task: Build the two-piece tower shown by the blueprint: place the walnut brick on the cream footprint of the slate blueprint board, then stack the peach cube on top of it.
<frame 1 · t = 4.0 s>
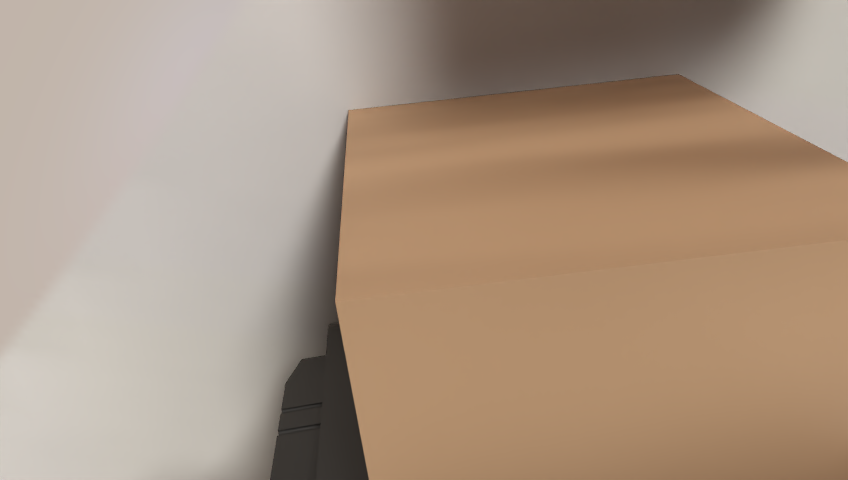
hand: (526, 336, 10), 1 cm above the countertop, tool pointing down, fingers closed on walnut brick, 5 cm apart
walnut brick: (517, 309, 11), on the countertop, touching gripper
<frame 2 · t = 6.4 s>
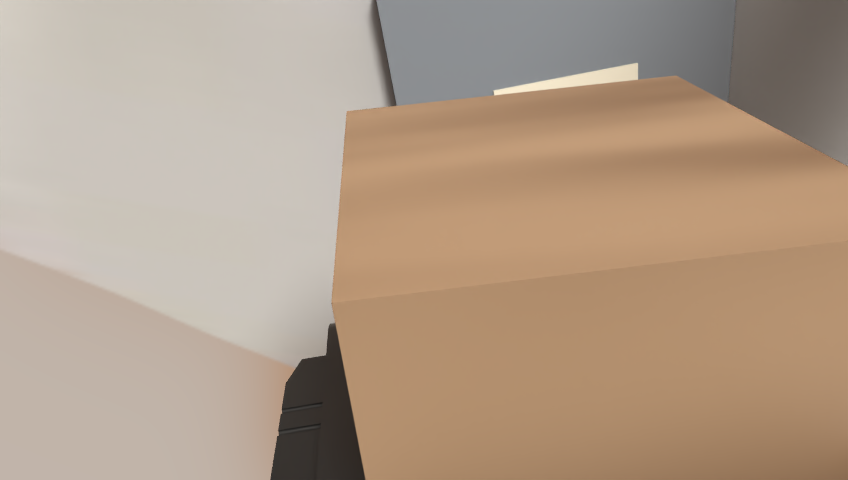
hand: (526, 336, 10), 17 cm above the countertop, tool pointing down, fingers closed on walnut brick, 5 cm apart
walnut brick: (515, 310, 11), point 16 cm above the countertop, touching gripper
blueprint board: (563, 168, 28), on the countertop
when the fingers open (3 cm above the countertop, at t = 9.0 s): walnut brick drops 1 cm, resting on blueprint board.
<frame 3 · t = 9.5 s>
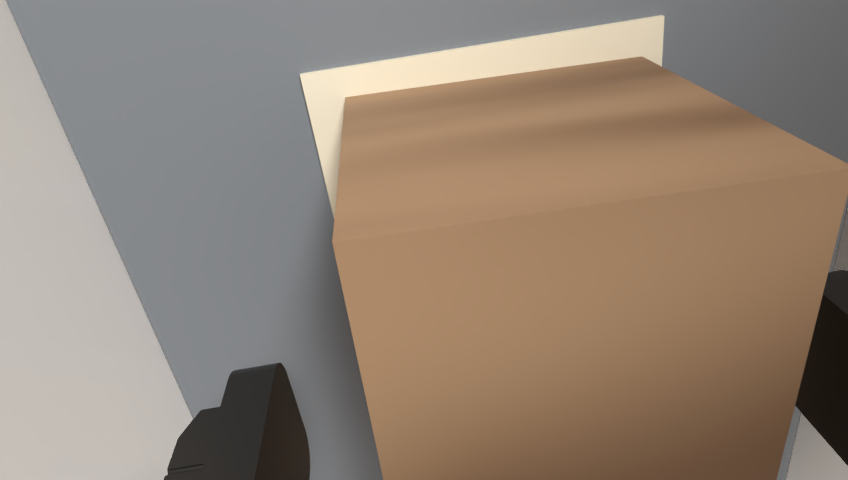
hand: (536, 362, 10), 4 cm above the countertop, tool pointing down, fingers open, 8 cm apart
walnut brick: (505, 277, 12), point 1 cm above the countertop, touching blueprint board
blueprint board: (492, 249, 13), on the countertop
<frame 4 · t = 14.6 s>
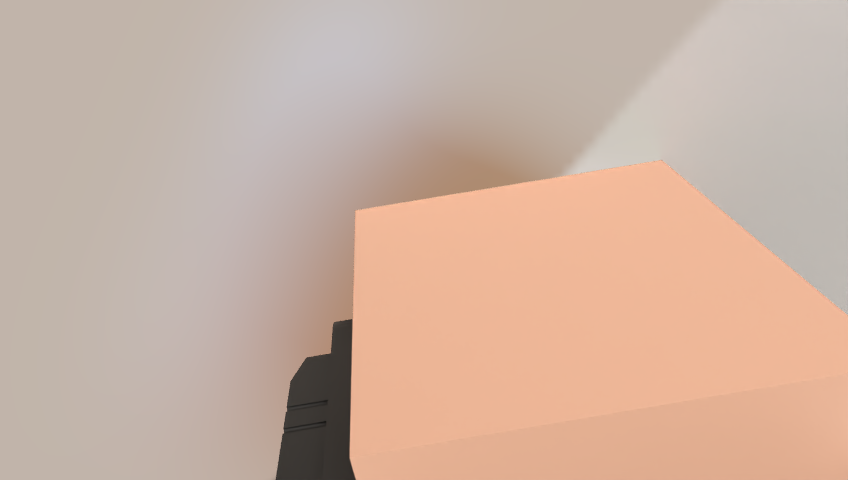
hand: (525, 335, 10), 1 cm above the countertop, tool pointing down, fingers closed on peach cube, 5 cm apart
peach cube: (518, 310, 11), on the countertop, touching gripper
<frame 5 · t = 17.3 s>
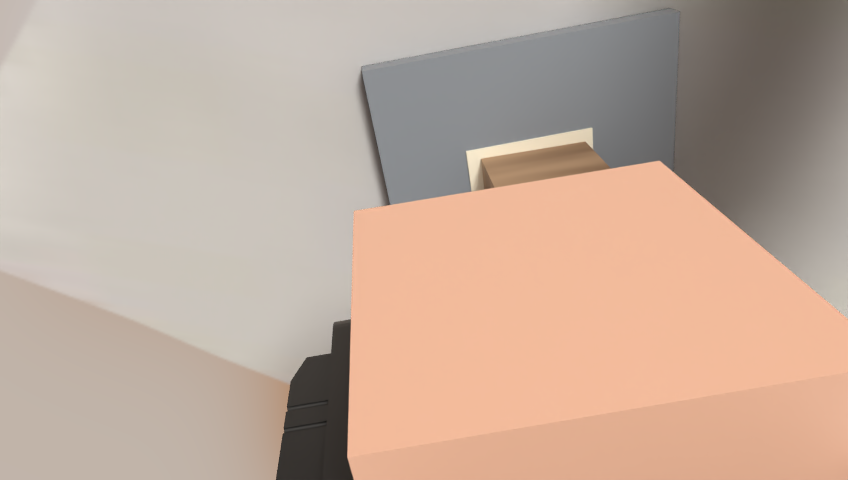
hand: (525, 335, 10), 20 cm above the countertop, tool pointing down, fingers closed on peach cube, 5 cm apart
walnut brick: (537, 224, 30), point 1 cm above the countertop, touching blueprint board
blueprint board: (531, 214, 31), on the countertop
peach cube: (516, 310, 11), point 19 cm above the countertop, touching gripper
when the fingers open (8 cm above the countertop, at t = 20.2 s): peach cube drops 1 cm, resting on walnut brick.
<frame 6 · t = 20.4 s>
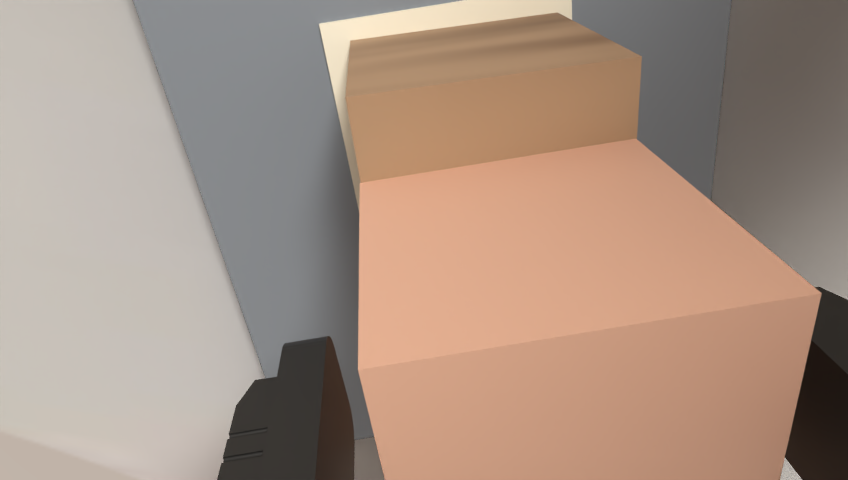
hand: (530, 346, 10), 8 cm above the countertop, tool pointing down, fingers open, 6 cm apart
walnut brick: (467, 179, 16), point 1 cm above the countertop, touching blueprint board, peach cube
blueprint board: (459, 164, 17), on the countertop
peach cube: (507, 277, 12), point 6 cm above the countertop, touching walnut brick
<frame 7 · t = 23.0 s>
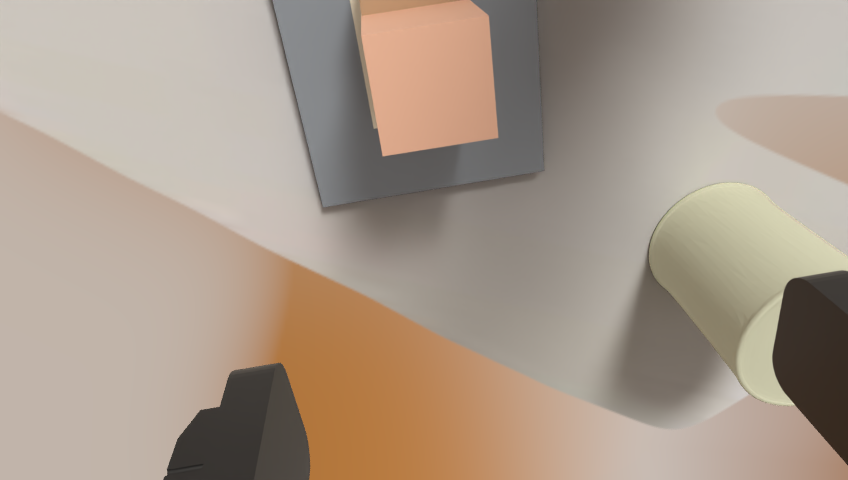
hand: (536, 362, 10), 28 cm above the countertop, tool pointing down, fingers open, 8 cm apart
walnut brick: (413, 42, 33), point 1 cm above the countertop, touching blueprint board, peach cube
blueprint board: (411, 38, 34), on the countertop
can: (710, 240, 43), on the countertop
peach cube: (422, 62, 29), point 6 cm above the countertop, touching walnut brick
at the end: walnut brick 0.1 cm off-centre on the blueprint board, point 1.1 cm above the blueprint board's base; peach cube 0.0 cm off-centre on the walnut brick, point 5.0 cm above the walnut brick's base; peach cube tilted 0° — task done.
